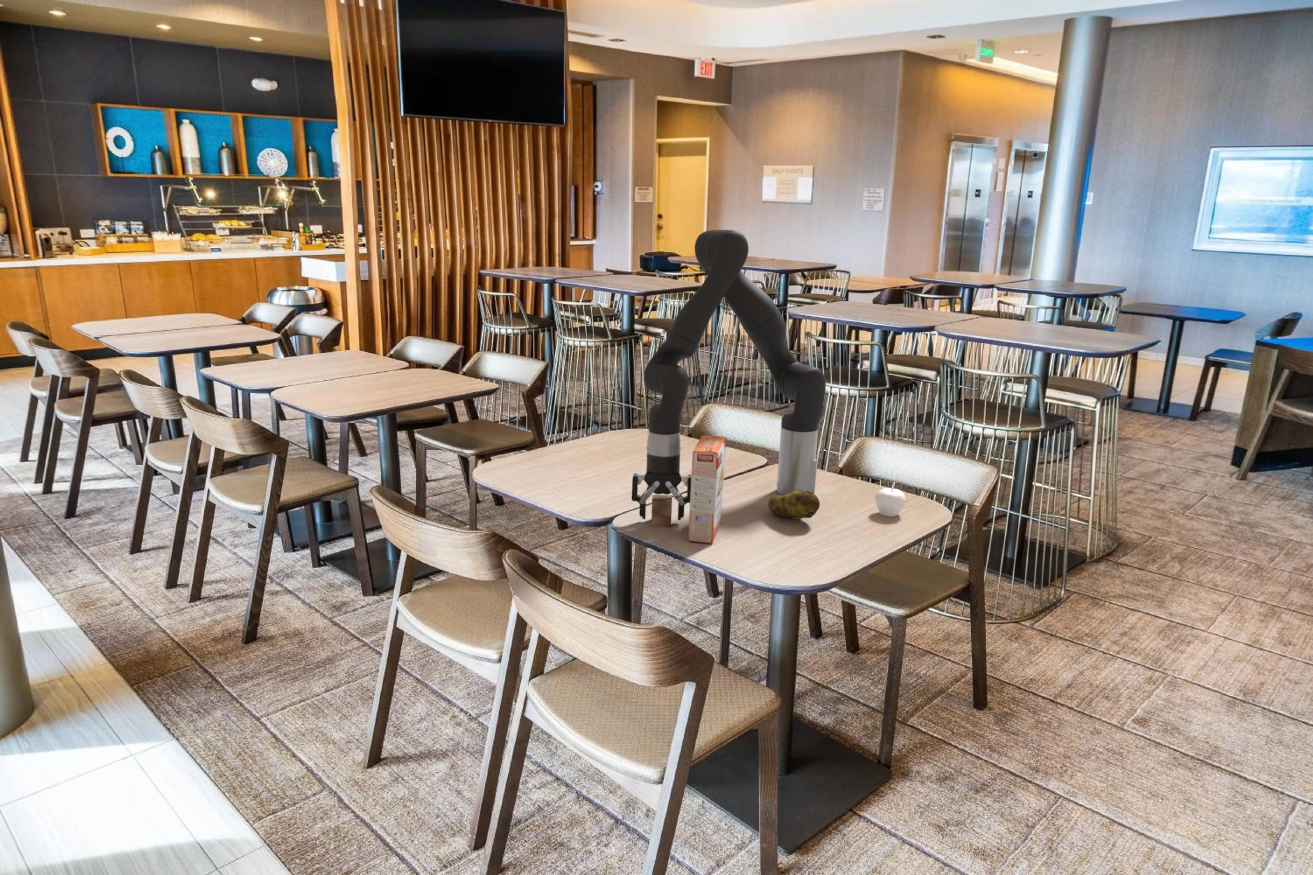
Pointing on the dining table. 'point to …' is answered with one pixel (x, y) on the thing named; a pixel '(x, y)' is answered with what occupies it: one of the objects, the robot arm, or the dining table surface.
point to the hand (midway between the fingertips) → (661, 518)
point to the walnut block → (661, 510)
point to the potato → (795, 504)
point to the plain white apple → (890, 501)
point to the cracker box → (706, 488)
